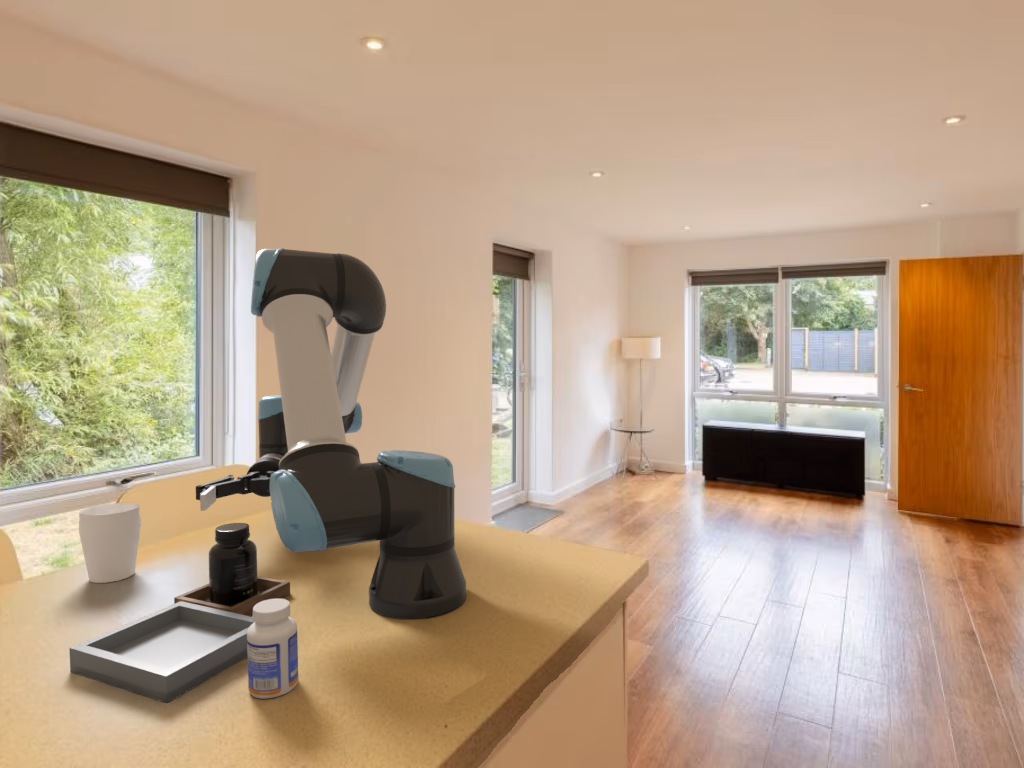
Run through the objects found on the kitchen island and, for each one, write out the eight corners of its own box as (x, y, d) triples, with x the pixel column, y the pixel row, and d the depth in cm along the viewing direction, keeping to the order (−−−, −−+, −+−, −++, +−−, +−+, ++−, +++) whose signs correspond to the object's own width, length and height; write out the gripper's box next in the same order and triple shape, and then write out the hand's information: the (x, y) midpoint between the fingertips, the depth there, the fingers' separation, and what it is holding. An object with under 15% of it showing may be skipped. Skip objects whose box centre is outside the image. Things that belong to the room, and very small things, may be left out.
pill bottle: (283, 669, 73) (281, 591, 72) (307, 685, 69) (305, 603, 69) (239, 689, 69) (236, 606, 68) (263, 706, 65) (260, 619, 65)
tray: (270, 642, 80) (270, 620, 80) (167, 702, 66) (166, 676, 66) (181, 621, 86) (180, 601, 86) (70, 671, 73) (69, 647, 72)
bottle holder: (290, 594, 96) (290, 581, 96) (230, 623, 85) (230, 610, 85) (237, 583, 101) (236, 572, 101) (174, 610, 90) (174, 597, 90)
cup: (154, 568, 108) (152, 503, 108) (116, 587, 100) (114, 516, 99) (108, 566, 109) (106, 502, 109) (67, 585, 100) (64, 515, 100)
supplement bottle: (200, 606, 92) (197, 529, 91) (238, 590, 98) (236, 518, 97) (229, 615, 88) (227, 535, 88) (267, 598, 95) (265, 523, 94)
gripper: (332, 490, 126) (321, 518, 105) (204, 495, 121) (166, 526, 100) (331, 454, 125) (321, 476, 105) (203, 459, 120) (165, 482, 100)
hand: (245, 500), depth 102 cm, fingers open, 13 cm apart
